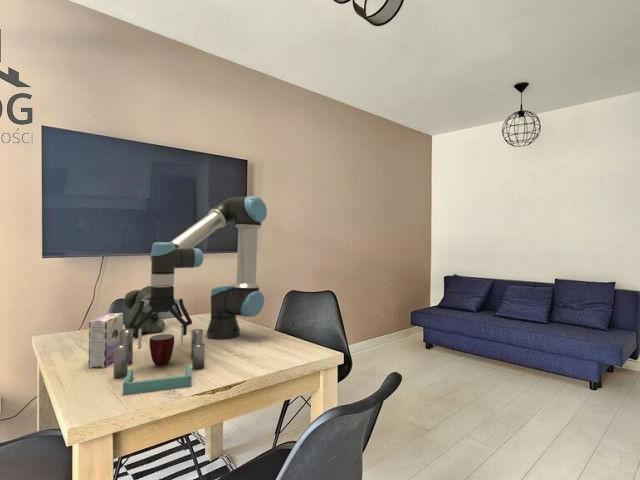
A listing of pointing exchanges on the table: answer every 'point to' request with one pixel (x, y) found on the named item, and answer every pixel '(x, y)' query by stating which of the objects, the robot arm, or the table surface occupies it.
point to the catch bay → (155, 383)
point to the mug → (161, 349)
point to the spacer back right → (127, 342)
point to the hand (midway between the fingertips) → (161, 346)
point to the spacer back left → (196, 337)
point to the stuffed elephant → (133, 304)
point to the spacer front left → (198, 356)
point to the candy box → (104, 339)
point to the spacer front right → (120, 361)
